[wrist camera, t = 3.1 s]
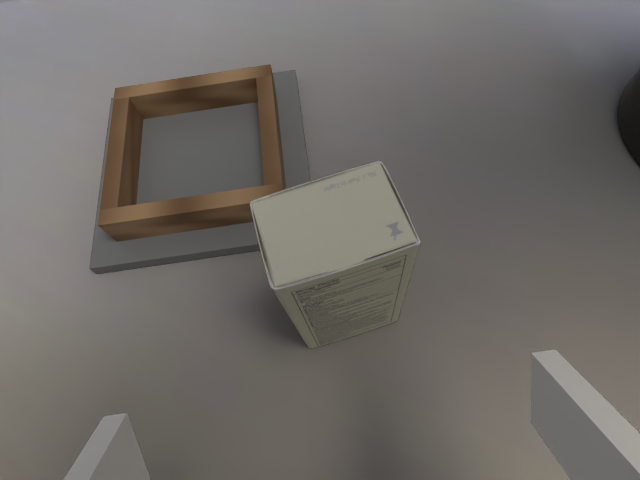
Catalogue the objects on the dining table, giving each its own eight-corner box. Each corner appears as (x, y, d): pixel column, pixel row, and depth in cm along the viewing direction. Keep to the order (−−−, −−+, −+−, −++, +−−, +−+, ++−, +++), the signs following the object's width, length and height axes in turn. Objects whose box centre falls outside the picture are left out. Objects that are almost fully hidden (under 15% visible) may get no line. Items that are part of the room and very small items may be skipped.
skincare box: (376, 263, 29) (387, 154, 18) (400, 324, 27) (428, 242, 16) (288, 291, 29) (245, 196, 18) (306, 354, 27) (270, 291, 16)
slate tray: (296, 78, 37) (295, 69, 36) (318, 241, 30) (317, 235, 29) (117, 106, 38) (111, 98, 37) (97, 273, 31) (89, 268, 30)
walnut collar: (275, 88, 36) (270, 64, 33) (289, 216, 30) (283, 197, 28) (130, 110, 36) (115, 88, 34) (117, 241, 30) (97, 225, 28)
